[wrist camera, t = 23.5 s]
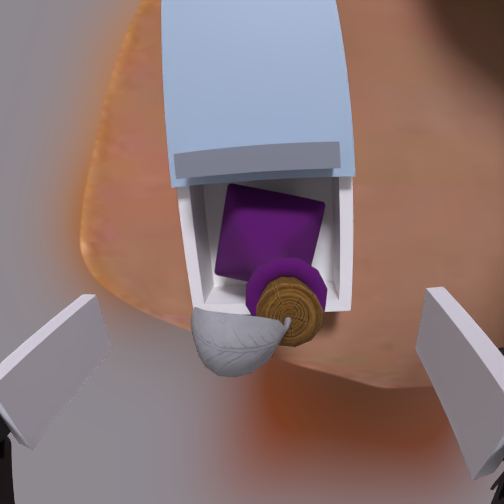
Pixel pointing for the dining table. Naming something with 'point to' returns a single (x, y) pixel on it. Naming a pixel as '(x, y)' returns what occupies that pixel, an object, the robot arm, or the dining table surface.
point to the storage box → (234, 291)
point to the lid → (255, 91)
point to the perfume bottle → (263, 280)
